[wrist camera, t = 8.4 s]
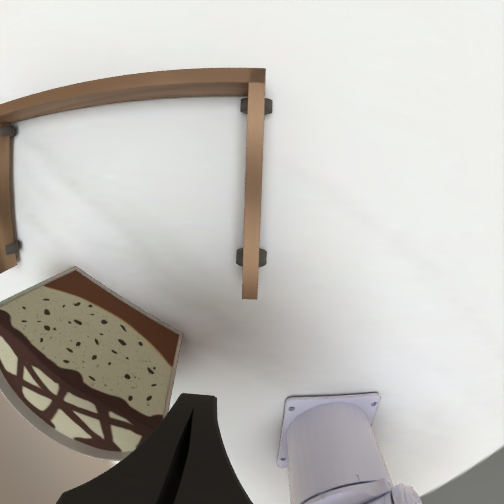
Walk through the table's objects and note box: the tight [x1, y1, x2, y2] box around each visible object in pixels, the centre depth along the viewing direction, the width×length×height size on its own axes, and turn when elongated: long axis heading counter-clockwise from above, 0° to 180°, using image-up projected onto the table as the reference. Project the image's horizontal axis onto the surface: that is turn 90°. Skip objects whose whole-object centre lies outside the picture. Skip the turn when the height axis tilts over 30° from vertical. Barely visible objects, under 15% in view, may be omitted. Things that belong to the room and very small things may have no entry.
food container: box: [0, 267, 183, 461], centre depth 17 cm, size 12×6×10 cm, turn 58°
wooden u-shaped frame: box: [0, 68, 272, 299], centre depth 17 cm, size 12×21×4 cm, turn 88°
